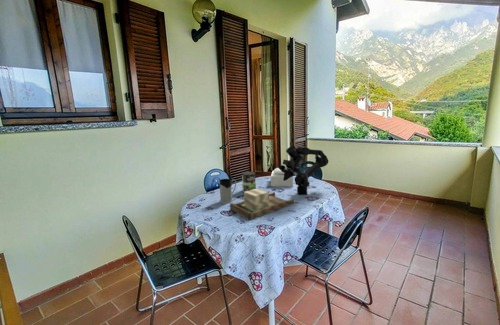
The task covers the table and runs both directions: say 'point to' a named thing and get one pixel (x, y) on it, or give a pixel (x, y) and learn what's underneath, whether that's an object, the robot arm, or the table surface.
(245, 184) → the coffee can
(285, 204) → the trap lane
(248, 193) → the birch block
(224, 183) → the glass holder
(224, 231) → the table surface
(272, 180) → the butter dish
